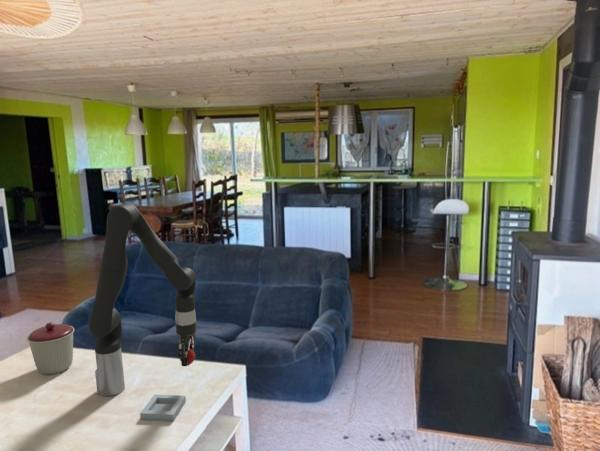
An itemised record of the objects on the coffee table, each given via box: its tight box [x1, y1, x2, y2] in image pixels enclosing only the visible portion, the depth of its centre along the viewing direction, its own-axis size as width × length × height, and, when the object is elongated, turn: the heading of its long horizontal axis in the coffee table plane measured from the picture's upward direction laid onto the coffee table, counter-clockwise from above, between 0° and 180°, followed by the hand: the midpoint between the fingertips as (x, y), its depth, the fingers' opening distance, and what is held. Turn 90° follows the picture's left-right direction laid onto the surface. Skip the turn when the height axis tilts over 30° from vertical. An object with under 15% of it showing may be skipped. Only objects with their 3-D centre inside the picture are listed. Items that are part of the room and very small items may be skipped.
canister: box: [26, 321, 75, 375], centre depth 195 cm, size 18×18×21 cm
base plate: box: [139, 394, 187, 422], centre depth 164 cm, size 12×12×2 cm
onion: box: [179, 347, 196, 367], centre depth 174 cm, size 6×6×8 cm
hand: (187, 361), depth 175 cm, fingers closed on onion, 6 cm apart
